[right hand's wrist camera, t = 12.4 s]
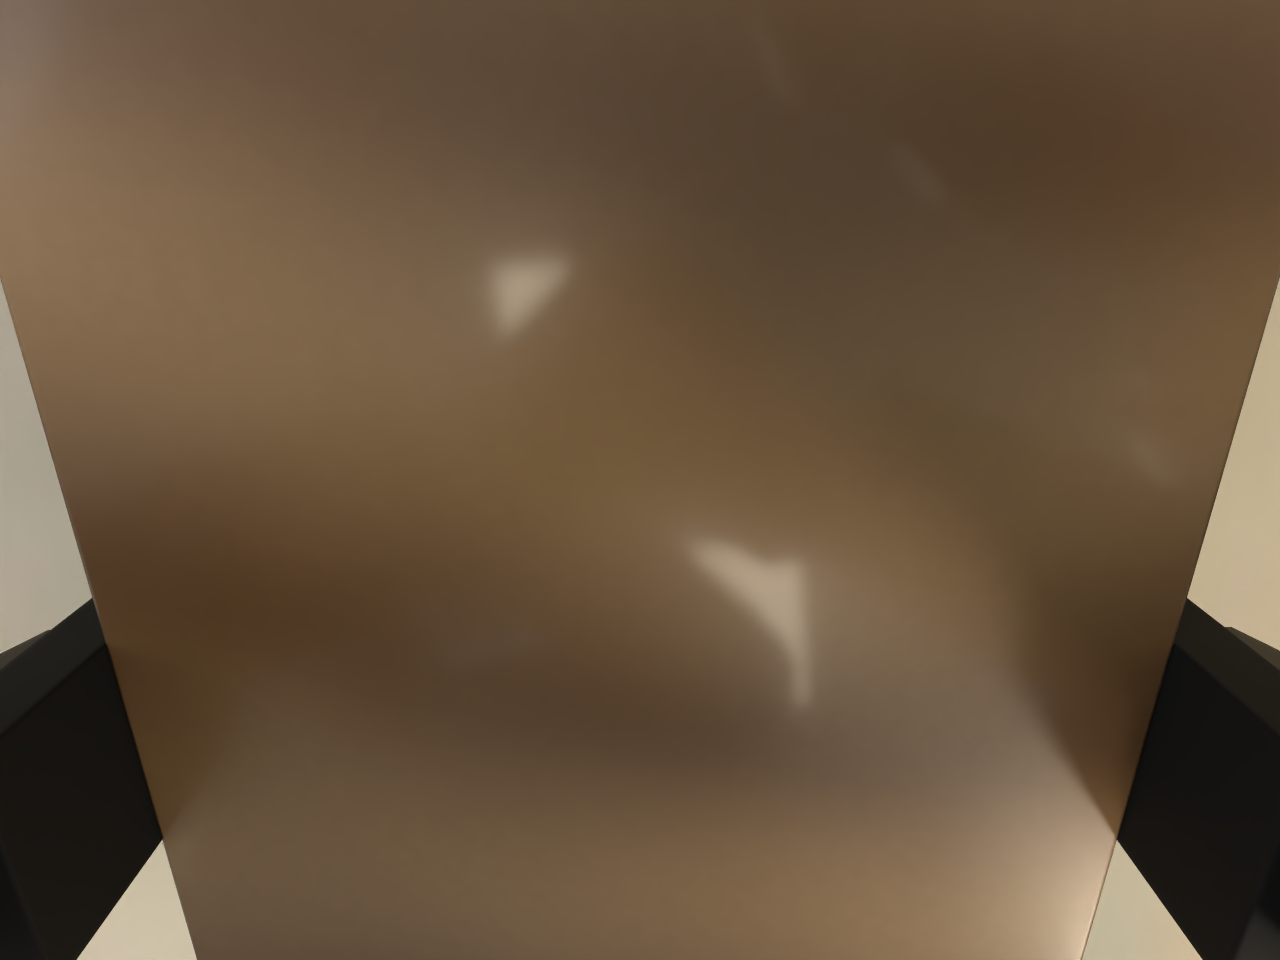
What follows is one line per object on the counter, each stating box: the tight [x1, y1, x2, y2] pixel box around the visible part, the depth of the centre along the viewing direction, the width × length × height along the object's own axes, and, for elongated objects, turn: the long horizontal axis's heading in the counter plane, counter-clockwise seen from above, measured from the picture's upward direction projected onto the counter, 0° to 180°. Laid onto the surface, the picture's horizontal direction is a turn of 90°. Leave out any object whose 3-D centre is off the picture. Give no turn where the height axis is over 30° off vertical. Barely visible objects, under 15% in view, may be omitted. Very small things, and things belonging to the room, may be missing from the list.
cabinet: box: [0, 0, 1280, 960], centre depth 10 cm, size 21×11×8 cm, turn 0°
